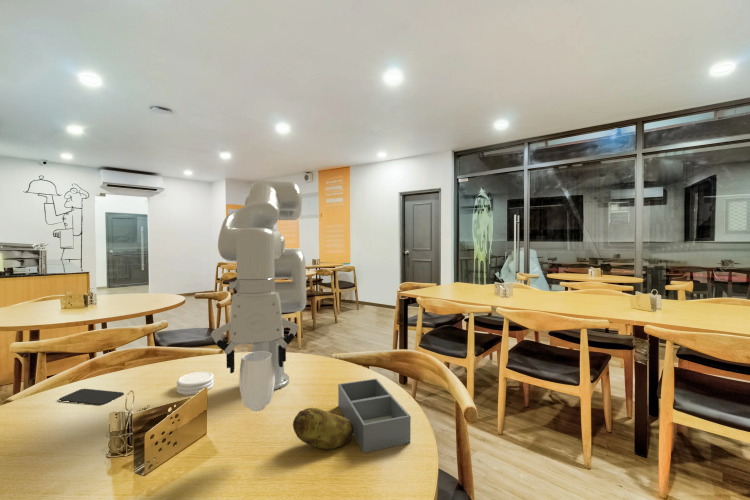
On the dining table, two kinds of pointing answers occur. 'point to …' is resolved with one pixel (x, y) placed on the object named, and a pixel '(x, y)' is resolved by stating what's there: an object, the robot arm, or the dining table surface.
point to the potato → (322, 428)
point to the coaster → (194, 382)
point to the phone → (92, 396)
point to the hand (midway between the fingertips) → (257, 367)
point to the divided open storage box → (374, 415)
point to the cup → (257, 379)
